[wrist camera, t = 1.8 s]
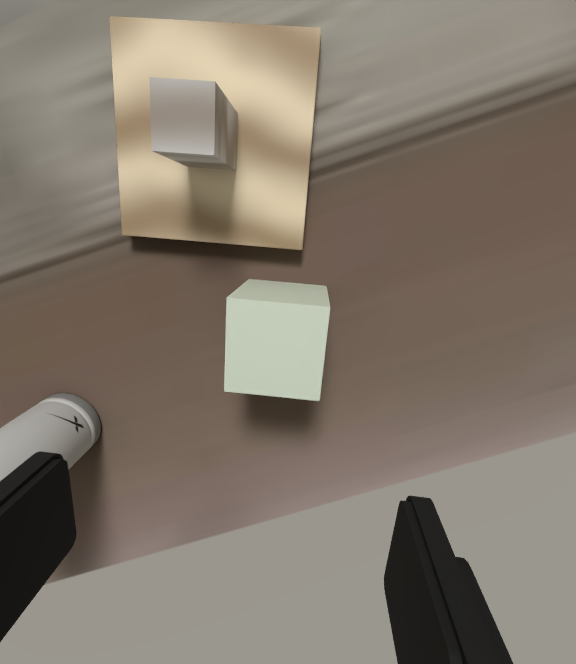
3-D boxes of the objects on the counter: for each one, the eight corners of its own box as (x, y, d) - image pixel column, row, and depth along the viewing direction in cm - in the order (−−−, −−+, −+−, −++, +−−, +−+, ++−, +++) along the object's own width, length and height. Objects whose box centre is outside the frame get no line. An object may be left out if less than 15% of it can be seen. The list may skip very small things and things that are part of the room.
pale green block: (318, 358, 31) (319, 401, 24) (245, 351, 32) (224, 391, 24) (326, 285, 29) (330, 307, 22) (249, 279, 30) (226, 297, 22)
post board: (302, 248, 29) (298, 257, 21) (131, 234, 29) (72, 237, 22) (320, 39, 25) (323, -37, 17) (121, 28, 25) (44, -50, 18)
